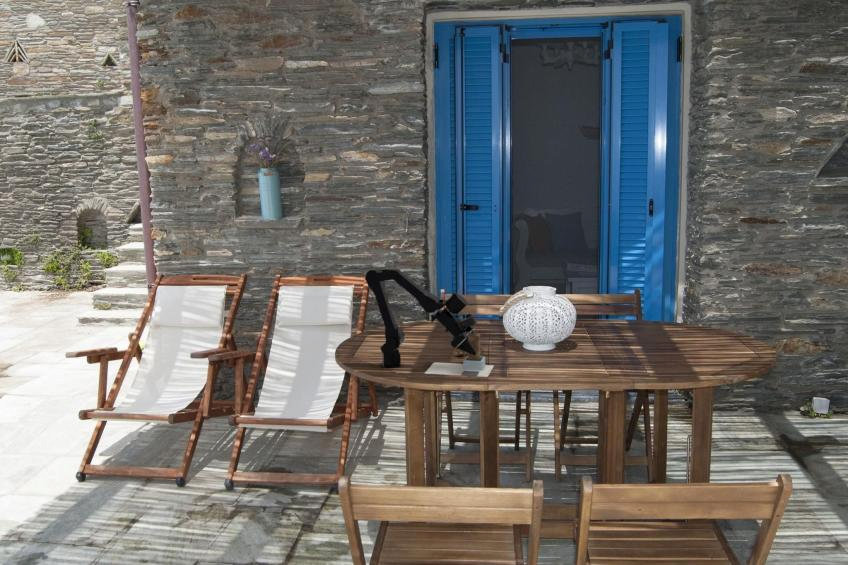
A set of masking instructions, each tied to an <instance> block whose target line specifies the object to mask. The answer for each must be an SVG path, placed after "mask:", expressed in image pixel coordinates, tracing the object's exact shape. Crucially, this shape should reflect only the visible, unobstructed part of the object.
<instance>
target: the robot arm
mask: <svg viewBox="0 0 848 565" xmlns="http://www.w3.org/2000/svg"><path fill="white" fill-rule="evenodd" d="M364 279H365V281H366V284H367V286H368V287H369V288H370V291H372V292H373V294H374V295H373V296H374V297H375V300H376V303H377V307H378V310H379V313H380V316H381V319H382V322H383V325H384V337H385V343H384V344H382V345H381V346H380V351H381V354H382V356H381V357H382V362H381V365H382V367H383V366H384V367H390V368H401V364H402V363H401V362H402V360H401V353H400V350H399V349H400V346H401V345H402V344H404V341H405V336H406V334H405V333H404V328H403V325H401V326H399V325H398V324H397V322H396V320H395V316H394V314H393V311H392V307H391V304H390V301H389V298H388V295H387V292H386V281H394V282H395V283H397V284H398V285H399V286H400V287H401V288H403V289H404V290H405V291H406V292H407V293H409V295H411V296H412V297H413V298H415V299H416V300H417V302H418V304H419V306H421V308H422V309H423V310H424V311H425V312H426V313H428V314H431V315H430V322H431V323H434V322H435V321H437V322H438V323H439V324H440V325H441V326H442V327H443V328H444V329H445V332H446V333H449V334H450V335H451V336H452V340H451V341H450V346H451V347H452V348H453V349H455V348H456V347H457V346H458V347H457V348H456V349H459V350H462V351H465V353H466V352H467V353H470V354H472V355H476V354H477V353H476V352H475V350H474V349H473V347H472V346H471V345H470V343H469V340H468V335H469V334H470V333H475V330H476V329H475V325H476V324H477V323H478V321H477V319H476V315H474V314H471V313H470V312H469V313H467V314H466V315H465V318H463V319H460V318H458V317H457V318H456V317H455V315H459V314H460V313H461V312H462V311H463V310H464V309H465V308H466V307H467V306H468V305H469V303H468V301H467V299H465V298H464V296H462V295H460V294H458V293H457V291H454V292H453V293H452V295H451V296H450V298H448V299H447V300H446V299H441V298H440V297H438V295H437V296H436V295H435V294H433V293H431V292H429V291H427V290H424V289H423V288H422V287H420V286H419V285H418V284H417V283H416V282H414V281H413V280H412V279H411V278H410V277H408V276H407V275H406V274H405V273H404V272H403V271H401V269H400V268H390V269H389V268H388V269H387V268H386V269H381V268H380V267H374V268H372V269H370V270H367V271H366V273H365V274H364ZM444 307H445V308H444ZM442 309H443V310H442ZM480 349H482V348H481V346H480ZM384 367H383V368H384Z"/></svg>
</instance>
